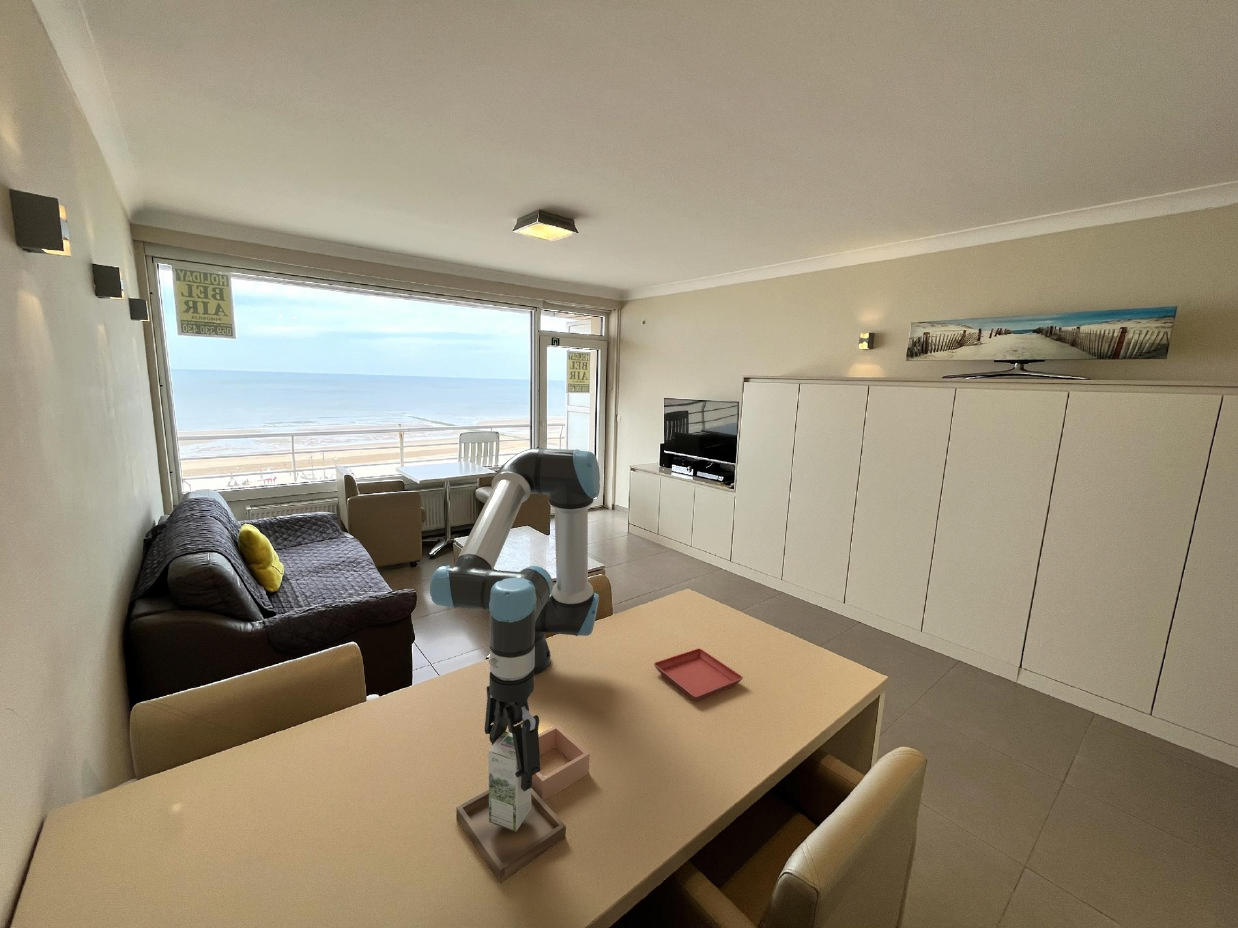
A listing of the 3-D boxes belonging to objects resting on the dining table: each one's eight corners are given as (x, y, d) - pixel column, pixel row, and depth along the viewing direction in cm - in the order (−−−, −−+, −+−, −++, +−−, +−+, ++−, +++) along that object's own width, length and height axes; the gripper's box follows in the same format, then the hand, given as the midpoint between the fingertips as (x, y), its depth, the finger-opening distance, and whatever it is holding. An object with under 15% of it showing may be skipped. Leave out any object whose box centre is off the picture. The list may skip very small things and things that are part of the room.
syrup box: (532, 808, 93) (533, 736, 91) (515, 834, 88) (516, 758, 85) (505, 798, 95) (505, 728, 93) (487, 823, 89) (487, 749, 87)
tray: (456, 818, 93) (456, 807, 93) (518, 783, 102) (518, 773, 101) (500, 883, 81) (500, 870, 81) (565, 837, 90) (565, 825, 90)
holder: (510, 767, 106) (511, 747, 105) (556, 743, 114) (556, 724, 113) (542, 801, 98) (542, 780, 97) (588, 773, 105) (589, 753, 105)
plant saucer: (743, 687, 139) (744, 676, 139) (694, 708, 129) (695, 696, 129) (698, 657, 154) (699, 647, 153) (651, 673, 144) (652, 663, 143)
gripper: (464, 652, 92) (465, 764, 95) (525, 707, 77) (523, 838, 80) (501, 639, 97) (500, 747, 100) (565, 688, 82) (561, 813, 86)
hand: (510, 787), depth 90 cm, fingers closed on syrup box, 8 cm apart
